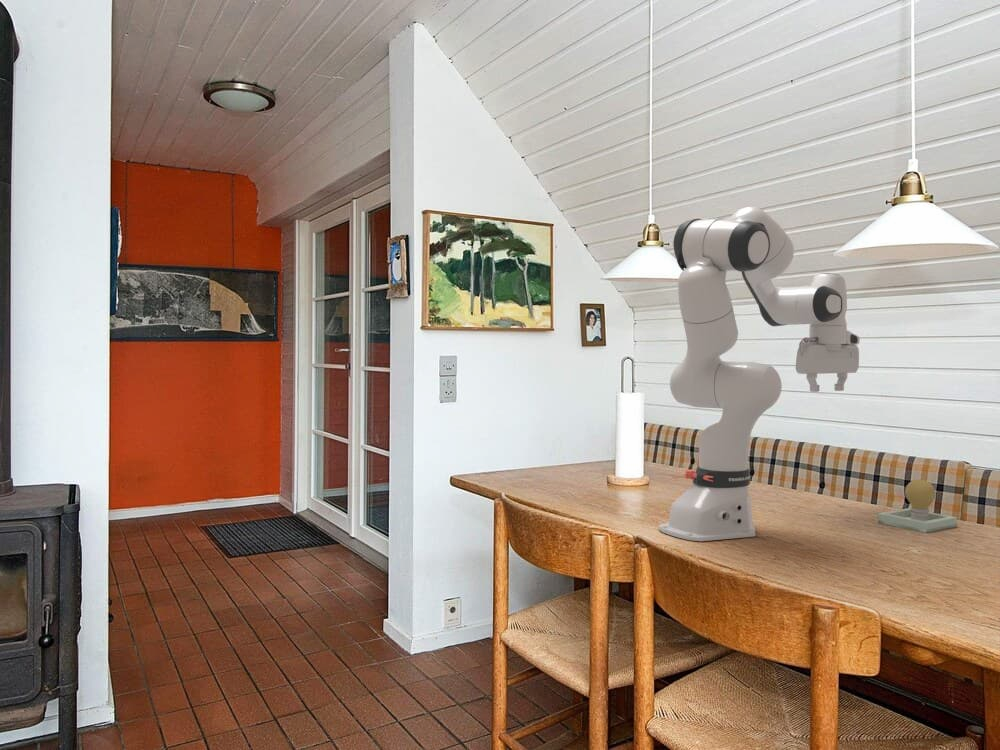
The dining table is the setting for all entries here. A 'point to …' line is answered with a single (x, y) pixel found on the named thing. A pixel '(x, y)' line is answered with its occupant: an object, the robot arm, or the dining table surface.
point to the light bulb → (920, 498)
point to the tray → (917, 521)
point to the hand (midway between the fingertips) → (826, 391)
